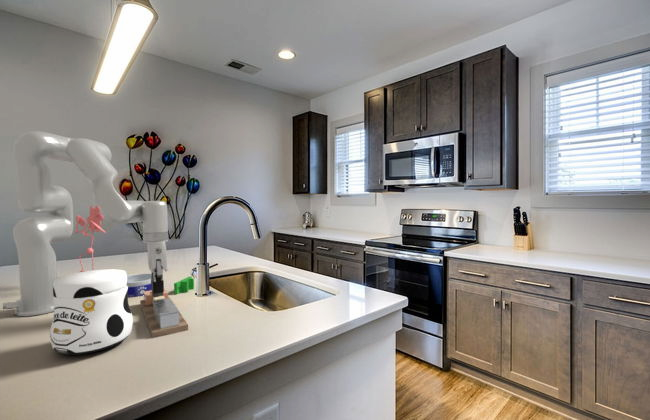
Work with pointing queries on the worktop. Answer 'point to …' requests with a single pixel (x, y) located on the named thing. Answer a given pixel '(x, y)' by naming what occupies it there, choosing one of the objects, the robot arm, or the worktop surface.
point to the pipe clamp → (184, 285)
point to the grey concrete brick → (166, 313)
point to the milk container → (90, 311)
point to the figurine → (93, 222)
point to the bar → (158, 295)
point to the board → (153, 322)
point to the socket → (149, 296)
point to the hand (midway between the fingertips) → (157, 290)
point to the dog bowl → (138, 284)
